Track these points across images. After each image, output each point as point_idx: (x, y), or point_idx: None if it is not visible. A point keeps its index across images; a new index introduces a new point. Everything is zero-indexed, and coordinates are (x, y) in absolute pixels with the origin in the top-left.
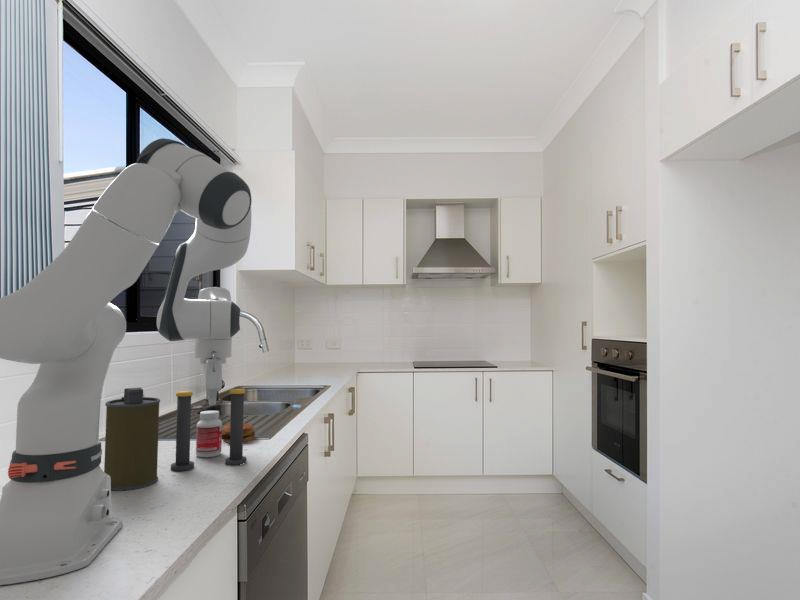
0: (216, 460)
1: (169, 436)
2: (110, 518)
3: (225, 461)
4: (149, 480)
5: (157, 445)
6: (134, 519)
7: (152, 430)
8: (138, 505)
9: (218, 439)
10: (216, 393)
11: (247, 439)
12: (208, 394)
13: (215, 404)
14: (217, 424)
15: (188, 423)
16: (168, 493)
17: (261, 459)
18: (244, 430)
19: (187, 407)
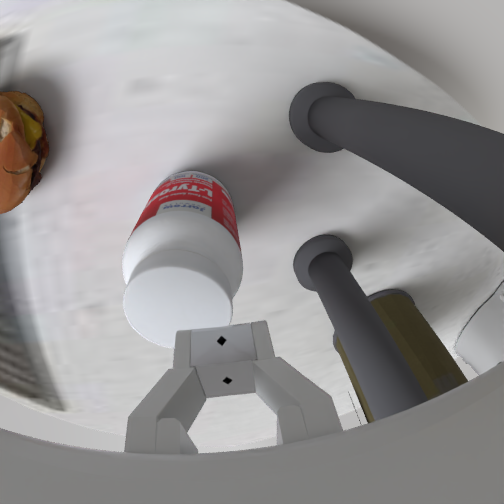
0: (271, 177)
1: (6, 328)
2: (502, 294)
3: (332, 150)
4: (410, 300)
5: (424, 341)
6: (500, 272)
7: (459, 370)
8: (472, 281)
9: (216, 197)
10: (316, 389)
11: (31, 105)
12: (194, 416)
13: (265, 322)
14: (224, 233)
15: (391, 338)
16: (458, 255)
17: (306, 34)
18: (16, 120)
19: (421, 388)
